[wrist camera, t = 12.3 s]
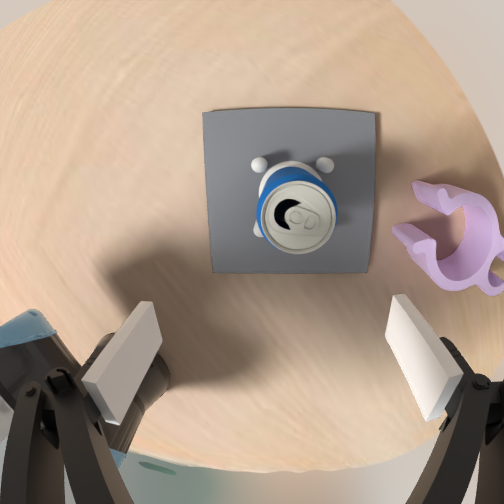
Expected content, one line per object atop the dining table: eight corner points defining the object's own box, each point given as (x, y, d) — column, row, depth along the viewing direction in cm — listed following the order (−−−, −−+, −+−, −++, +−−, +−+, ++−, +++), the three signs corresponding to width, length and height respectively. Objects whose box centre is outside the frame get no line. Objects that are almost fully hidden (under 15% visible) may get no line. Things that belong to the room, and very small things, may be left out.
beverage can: (274, 157, 30) (272, 161, 19) (327, 178, 31) (354, 194, 19) (255, 210, 33) (243, 242, 22) (307, 229, 33) (320, 270, 22)
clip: (502, 225, 31) (528, 239, 24) (469, 292, 35) (491, 313, 29) (419, 162, 30) (447, 167, 23) (381, 247, 34) (400, 268, 28)
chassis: (214, 269, 37) (207, 283, 33) (205, 113, 30) (195, 109, 26) (364, 269, 35) (373, 283, 32) (371, 114, 28) (383, 110, 25)
